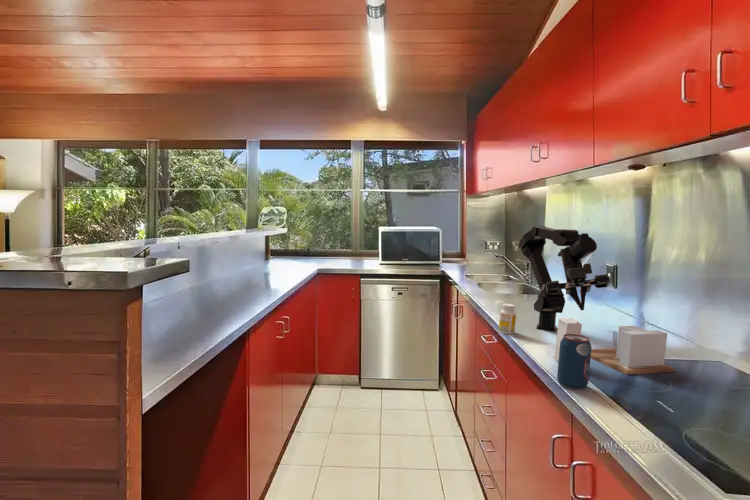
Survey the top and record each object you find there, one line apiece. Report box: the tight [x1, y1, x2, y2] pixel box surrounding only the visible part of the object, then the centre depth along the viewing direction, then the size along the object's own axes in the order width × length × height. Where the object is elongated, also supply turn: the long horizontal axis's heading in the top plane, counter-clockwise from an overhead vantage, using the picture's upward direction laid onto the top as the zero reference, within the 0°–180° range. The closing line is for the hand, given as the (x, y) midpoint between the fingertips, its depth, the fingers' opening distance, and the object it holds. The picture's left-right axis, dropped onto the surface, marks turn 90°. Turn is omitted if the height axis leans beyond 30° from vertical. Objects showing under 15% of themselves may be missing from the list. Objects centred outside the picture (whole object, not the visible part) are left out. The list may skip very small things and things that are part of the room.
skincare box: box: [554, 317, 583, 362], centre depth 126 cm, size 6×4×12 cm
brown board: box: [590, 347, 675, 375], centre depth 129 cm, size 18×16×1 cm
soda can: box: [556, 334, 592, 390], centre depth 109 cm, size 7×7×12 cm
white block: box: [616, 325, 668, 367], centre depth 126 cm, size 8×12×9 cm, turn 105°
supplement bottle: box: [498, 303, 517, 335], centre depth 156 cm, size 5×5×10 cm
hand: (582, 310), depth 143 cm, fingers closed
